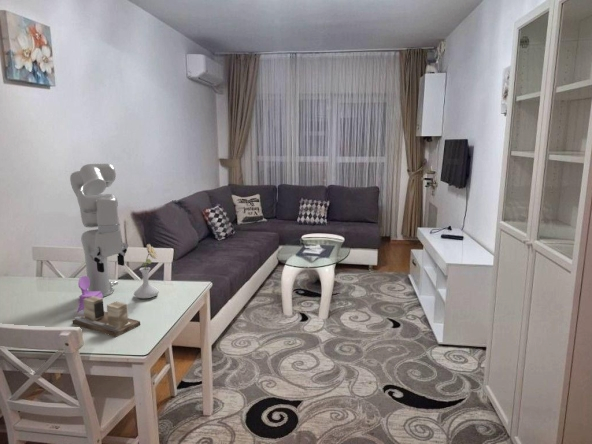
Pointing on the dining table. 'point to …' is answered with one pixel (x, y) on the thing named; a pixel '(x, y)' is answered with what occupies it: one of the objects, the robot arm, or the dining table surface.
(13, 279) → the dining table surface
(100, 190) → the robot arm
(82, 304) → the toy chair
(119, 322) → the wooden block
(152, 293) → the flower in vase
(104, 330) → the rail board
